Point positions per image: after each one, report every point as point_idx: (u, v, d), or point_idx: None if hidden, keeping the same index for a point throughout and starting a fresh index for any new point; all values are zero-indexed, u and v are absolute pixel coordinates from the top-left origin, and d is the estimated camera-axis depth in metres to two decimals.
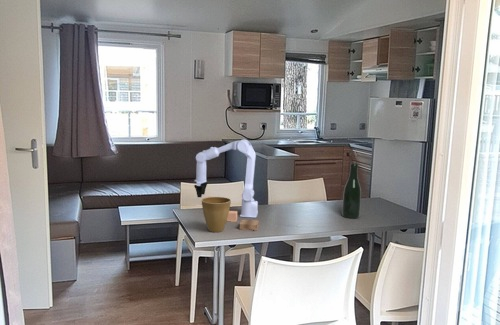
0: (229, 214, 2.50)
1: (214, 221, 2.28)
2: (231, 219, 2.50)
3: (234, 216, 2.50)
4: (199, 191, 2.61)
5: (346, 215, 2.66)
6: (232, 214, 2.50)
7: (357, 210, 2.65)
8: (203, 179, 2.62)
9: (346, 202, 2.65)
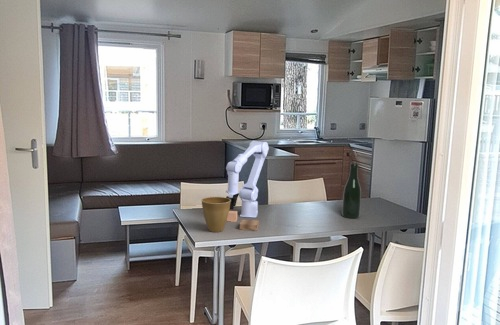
0: (229, 214, 2.50)
1: (214, 221, 2.28)
2: (231, 219, 2.50)
3: (234, 216, 2.50)
4: (231, 203, 2.47)
5: (346, 215, 2.66)
6: (232, 214, 2.50)
7: (357, 210, 2.65)
8: (235, 190, 2.48)
9: (346, 202, 2.65)
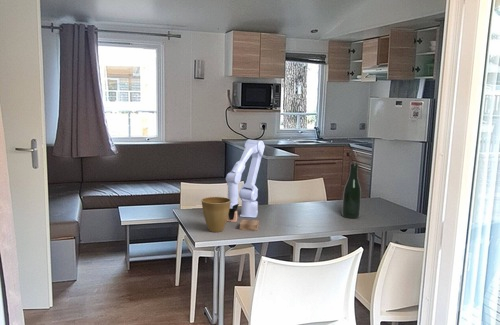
0: None
1: (214, 221, 2.28)
2: None
3: (234, 216, 2.50)
4: (231, 213, 2.49)
5: (346, 215, 2.66)
6: None
7: (357, 210, 2.65)
8: (235, 201, 2.49)
9: (346, 202, 2.65)
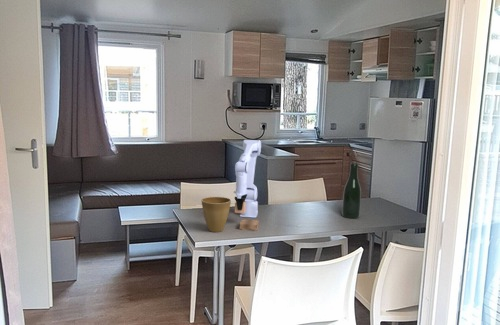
0: None
1: (214, 221, 2.28)
2: (239, 210, 2.43)
3: (242, 207, 2.43)
4: (239, 203, 2.42)
5: (346, 215, 2.66)
6: None
7: (357, 210, 2.65)
8: (243, 191, 2.42)
9: (346, 202, 2.65)
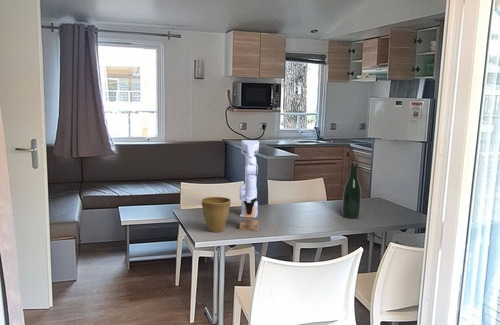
0: None
1: (214, 221, 2.28)
2: (248, 214, 2.37)
3: (252, 211, 2.37)
4: (249, 208, 2.36)
5: (346, 215, 2.66)
6: None
7: (357, 210, 2.65)
8: (253, 195, 2.36)
9: (346, 202, 2.65)
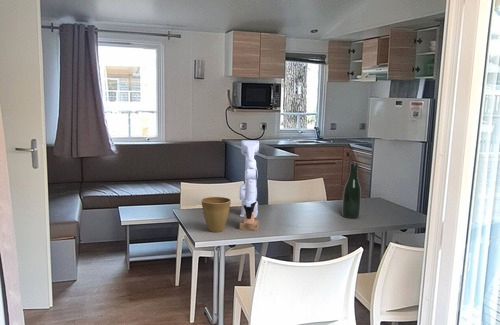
0: None
1: (214, 221, 2.28)
2: (248, 220, 2.38)
3: (251, 217, 2.37)
4: (249, 212, 2.35)
5: (346, 215, 2.66)
6: None
7: (357, 210, 2.65)
8: (253, 199, 2.36)
9: (346, 202, 2.65)
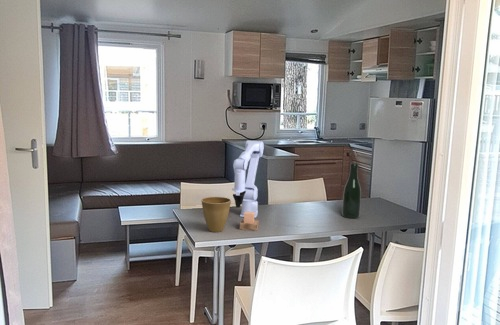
0: (246, 215, 2.37)
1: (214, 221, 2.28)
2: (248, 220, 2.38)
3: (251, 217, 2.37)
4: (238, 201, 2.44)
5: (346, 215, 2.66)
6: (249, 215, 2.37)
7: (357, 210, 2.65)
8: (242, 188, 2.45)
9: (346, 202, 2.65)
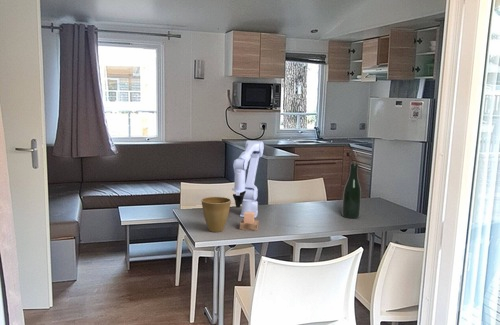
0: (246, 215, 2.37)
1: (214, 221, 2.28)
2: (248, 220, 2.38)
3: (251, 217, 2.37)
4: (238, 201, 2.44)
5: (346, 215, 2.66)
6: (249, 215, 2.37)
7: (357, 210, 2.65)
8: (242, 188, 2.45)
9: (346, 202, 2.65)
